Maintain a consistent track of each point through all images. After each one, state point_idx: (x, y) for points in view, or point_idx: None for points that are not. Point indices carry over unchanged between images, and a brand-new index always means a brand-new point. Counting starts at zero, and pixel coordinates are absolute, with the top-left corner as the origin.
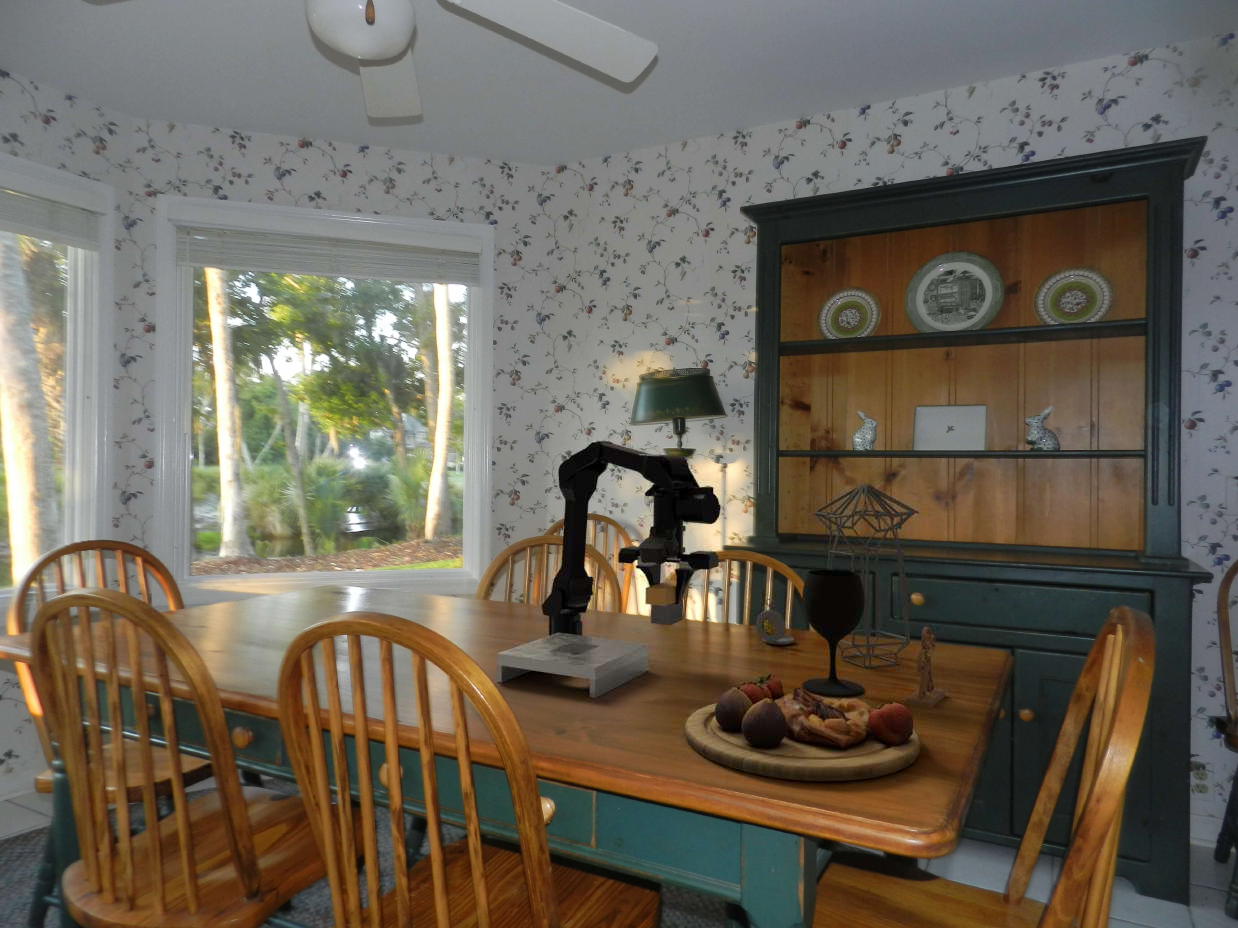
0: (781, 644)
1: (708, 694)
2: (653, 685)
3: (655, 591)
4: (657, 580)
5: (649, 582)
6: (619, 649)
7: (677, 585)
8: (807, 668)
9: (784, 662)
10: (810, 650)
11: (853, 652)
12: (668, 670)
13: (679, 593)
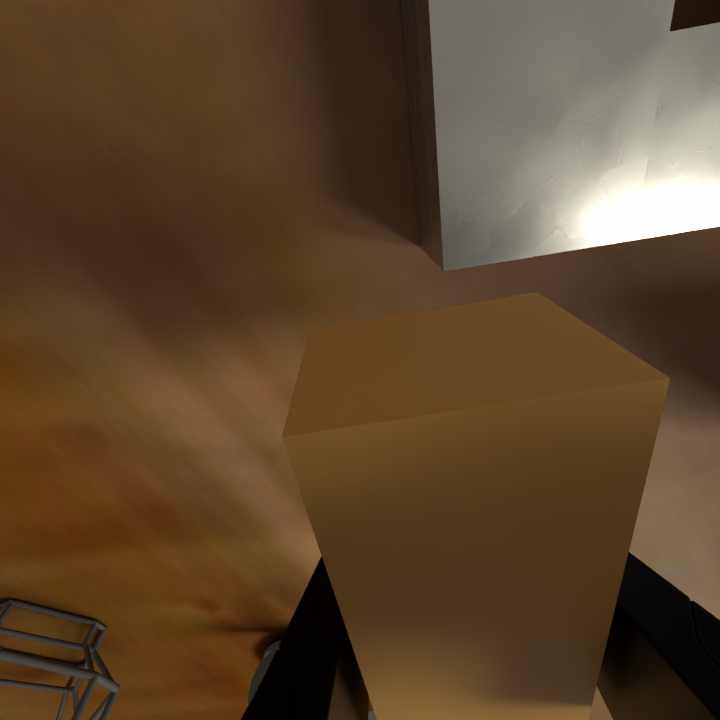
0: (277, 641)
1: (23, 90)
2: (274, 53)
3: (454, 380)
4: (641, 713)
5: (714, 630)
6: (519, 32)
7: (318, 670)
8: (87, 534)
9: (168, 545)
10: (202, 639)
11: (34, 638)
12: (362, 295)
13: (312, 585)
